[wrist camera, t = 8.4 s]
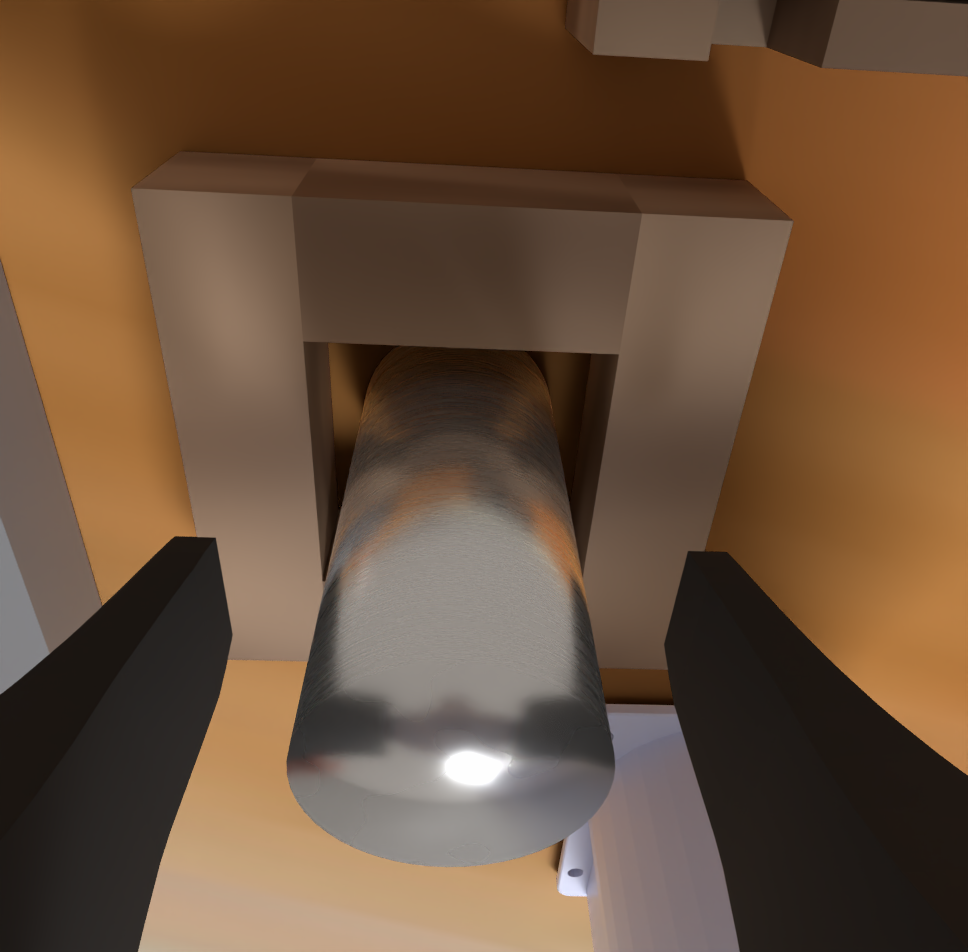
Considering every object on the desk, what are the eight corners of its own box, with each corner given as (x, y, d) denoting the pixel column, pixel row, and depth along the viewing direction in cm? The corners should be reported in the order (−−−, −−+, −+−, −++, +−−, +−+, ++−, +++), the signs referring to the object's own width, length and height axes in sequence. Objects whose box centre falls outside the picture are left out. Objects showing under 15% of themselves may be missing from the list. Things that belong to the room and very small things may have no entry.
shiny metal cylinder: (541, 491, 18) (592, 868, 11) (367, 485, 18) (299, 865, 11) (560, 330, 16) (640, 668, 9) (361, 321, 16) (271, 658, 9)
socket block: (651, 594, 20) (672, 669, 18) (246, 583, 20) (220, 659, 18) (747, 180, 15) (793, 221, 12) (180, 151, 14) (130, 188, 12)
